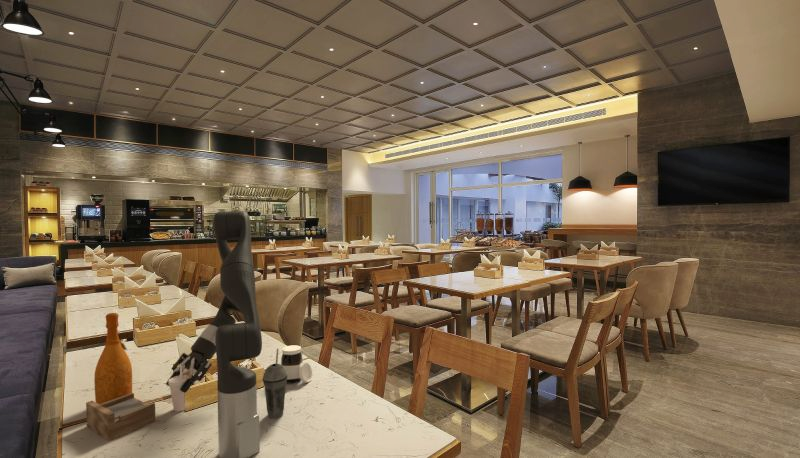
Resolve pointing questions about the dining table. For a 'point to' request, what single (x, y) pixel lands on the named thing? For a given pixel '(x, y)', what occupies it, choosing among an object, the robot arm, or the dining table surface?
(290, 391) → the dining table surface
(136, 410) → the brown wooden tray
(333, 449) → the dining table surface
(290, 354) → the spread jar
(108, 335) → the wine bottle
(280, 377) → the beverage cup
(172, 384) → the smoothie
